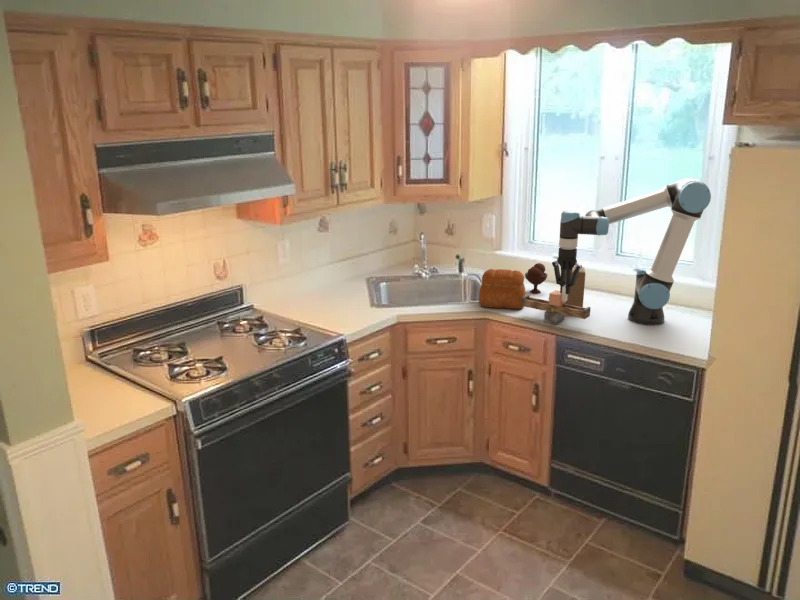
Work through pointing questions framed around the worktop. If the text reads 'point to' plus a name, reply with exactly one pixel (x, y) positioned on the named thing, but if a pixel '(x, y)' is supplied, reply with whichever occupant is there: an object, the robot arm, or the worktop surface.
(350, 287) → the worktop surface
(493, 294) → the bread
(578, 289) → the wooden block
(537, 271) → the ice cream bowl
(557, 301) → the block
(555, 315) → the beam
